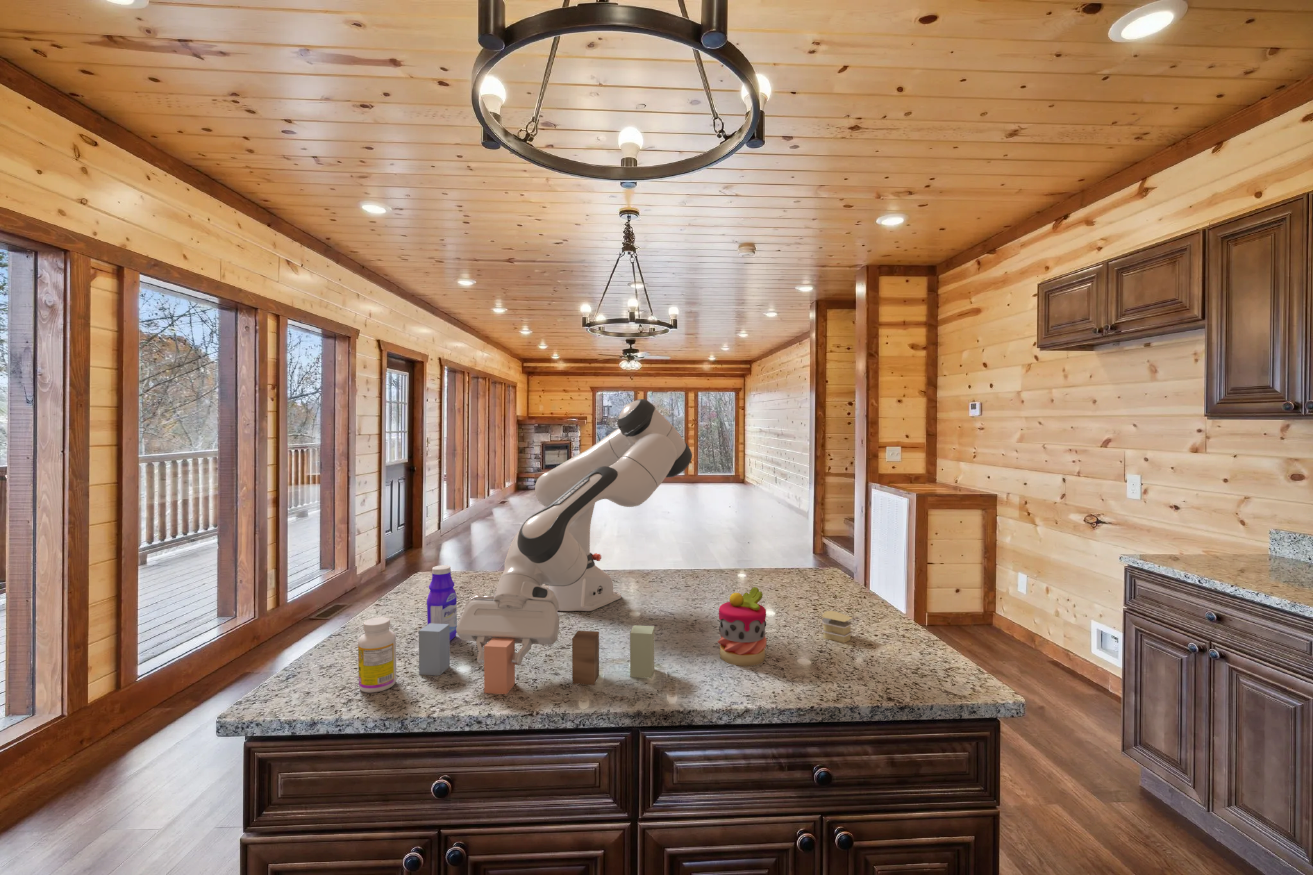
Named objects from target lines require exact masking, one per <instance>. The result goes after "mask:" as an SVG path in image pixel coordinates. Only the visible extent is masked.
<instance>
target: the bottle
mask: <svg viewBox="0 0 1313 875" xmlns="http://www.w3.org/2000/svg"><path fill="white" fill-rule="evenodd" d="M431 571H432V572H431V574H432V575H431V581H430V584H429V585H428V589H429V593H428V595H427V599H426V615H427V616H426V622H427V623H426V626H427V625H428V624H429V623H432V624H449V632H450V641H452V640H453V639H454V638H455V637H456V636H457V635H458V634H457V632H456V628H457V625H458V614H457V613H458V612H457V610H458V604H457V602H458V601H457V597H458V596H457V593H456V590H455V588H454V587H455V581H453V579H452V575H451V574H452V572H451V566H450V565H448V564H447V565H446V564H443V565H441V564H440V565H436V566H433V567H432V570H431Z"/></svg>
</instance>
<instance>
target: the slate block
mask: <svg viewBox="0 0 1313 875" xmlns="http://www.w3.org/2000/svg"><path fill="white" fill-rule="evenodd" d="M450 642H451V640H450V632H449V624H432V623H429V624H428V625H427V624H426V625H425V626H423V627H422V628H420V629H419V630H418V675H422V676H439V677H440V676H441V675H442V674H443V673H445V671H446V670H448V669H449V668H450V667H451V666H450V663H451V662H450V660H451V659H450V658H451V657H450V656H451V655H450Z"/></svg>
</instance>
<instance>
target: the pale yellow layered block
mask: <svg viewBox="0 0 1313 875" xmlns="http://www.w3.org/2000/svg"><path fill="white" fill-rule="evenodd" d="M821 617H822V618H823V619H822V620H821V623H822V624H823V627H822V629H821V631H822V634H823V636H822V637H823V639H825V640H828V641H829V640H831V641H835V642H837V643H842V644H845V643H847V642H849V641H851V636H852V634H853V631H852V630H851V626H852V625H853V623H852V622H850V621H849V620H851V619H853V617H851V616H849V615H847V614H844V613H840V612H838V611H834V610H827V611H826V610H825V611H824V612H823V614H822V615H821Z"/></svg>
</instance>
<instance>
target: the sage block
mask: <svg viewBox="0 0 1313 875" xmlns="http://www.w3.org/2000/svg"><path fill="white" fill-rule="evenodd" d="M629 641H630V642H629V645H630V646H629V657H630V658H629V676H630V677H629V678H639V679H641V678H643V679H644V678H645V679H652V678H653V676H654V675H653V674H654V673H655V626H653V625H633V626H632V628H631V631H630V632H629Z"/></svg>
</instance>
